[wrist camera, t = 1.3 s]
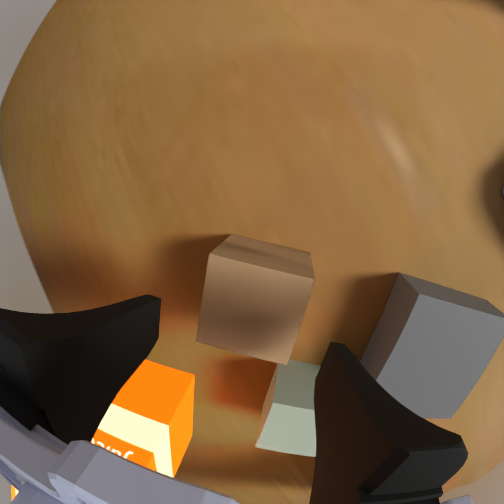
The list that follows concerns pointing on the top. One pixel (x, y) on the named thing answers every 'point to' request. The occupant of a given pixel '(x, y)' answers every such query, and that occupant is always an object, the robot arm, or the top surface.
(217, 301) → the walnut block
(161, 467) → the orange juice
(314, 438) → the sage block
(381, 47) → the top surface
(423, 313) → the charcoal block
